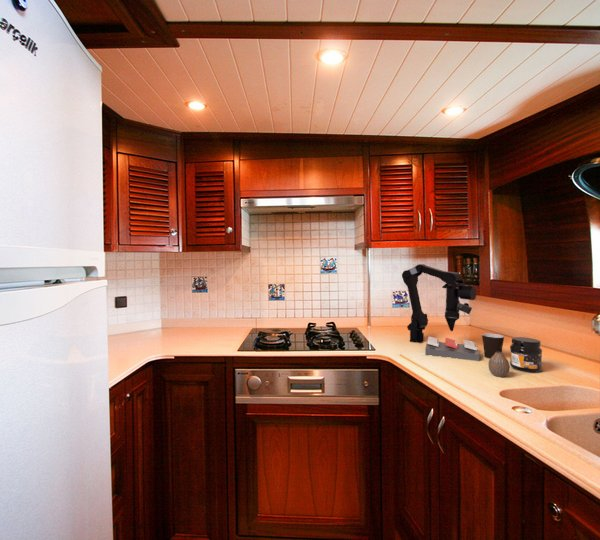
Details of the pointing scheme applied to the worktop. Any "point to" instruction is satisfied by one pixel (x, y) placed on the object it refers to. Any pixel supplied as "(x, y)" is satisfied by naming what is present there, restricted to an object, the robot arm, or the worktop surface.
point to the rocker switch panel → (452, 351)
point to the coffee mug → (492, 344)
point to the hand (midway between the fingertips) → (451, 329)
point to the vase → (499, 365)
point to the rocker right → (470, 345)
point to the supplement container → (526, 354)
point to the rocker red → (451, 343)
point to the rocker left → (433, 341)
